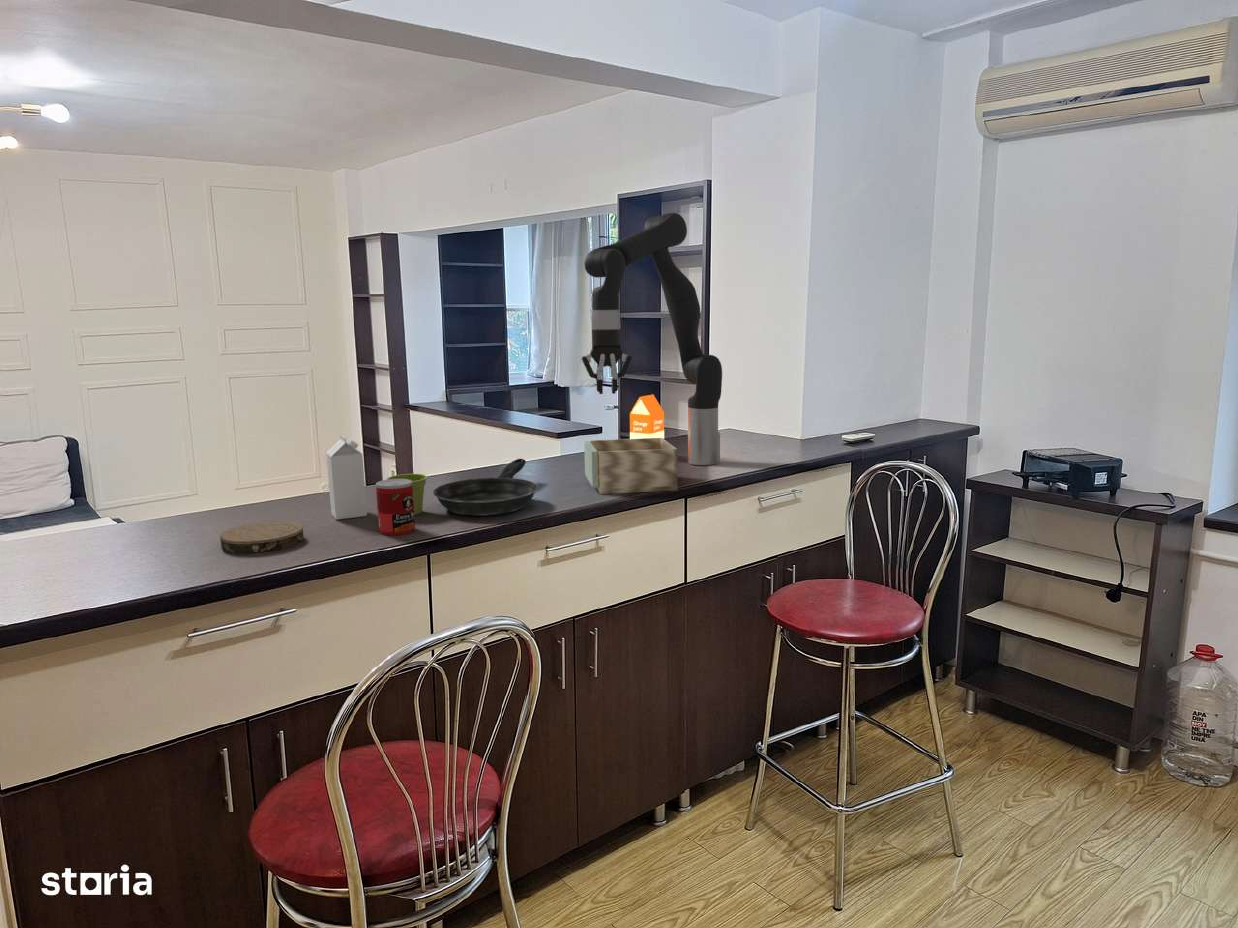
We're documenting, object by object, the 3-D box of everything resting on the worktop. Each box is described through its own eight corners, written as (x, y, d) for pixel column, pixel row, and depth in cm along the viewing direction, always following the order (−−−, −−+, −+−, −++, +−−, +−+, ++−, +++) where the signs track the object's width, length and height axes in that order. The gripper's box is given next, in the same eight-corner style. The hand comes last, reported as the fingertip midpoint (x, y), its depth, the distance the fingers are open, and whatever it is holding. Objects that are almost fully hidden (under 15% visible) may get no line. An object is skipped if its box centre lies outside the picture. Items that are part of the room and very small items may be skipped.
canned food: (397, 537, 174) (393, 487, 172) (371, 532, 178) (367, 483, 176) (423, 529, 180) (420, 480, 178) (397, 524, 185) (394, 477, 183)
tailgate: (590, 474, 229) (589, 441, 228) (598, 487, 213) (597, 451, 211) (585, 474, 229) (584, 441, 227) (592, 487, 212) (591, 451, 211)
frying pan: (519, 522, 185) (518, 493, 184) (416, 519, 190) (414, 490, 189) (569, 482, 227) (569, 458, 226) (484, 480, 232) (483, 457, 231)
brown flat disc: (319, 536, 177) (317, 522, 177) (272, 557, 162) (271, 543, 162) (254, 532, 181) (253, 519, 180) (203, 553, 166) (202, 539, 165)
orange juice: (664, 456, 264) (664, 394, 260) (650, 461, 257) (650, 397, 253) (643, 454, 268) (643, 393, 264) (629, 458, 261) (628, 396, 257)
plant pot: (437, 512, 195) (435, 477, 194) (402, 520, 189) (400, 483, 187) (415, 506, 202) (412, 472, 200) (381, 513, 195) (378, 478, 193)
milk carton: (335, 520, 189) (329, 439, 186) (331, 514, 195) (324, 435, 192) (367, 516, 192) (361, 436, 189) (361, 510, 199) (355, 433, 195)
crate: (662, 475, 234) (661, 437, 232) (677, 490, 215) (677, 449, 213) (591, 478, 231) (590, 440, 229) (600, 494, 212) (599, 452, 210)
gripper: (630, 327, 219) (630, 391, 222) (577, 328, 217) (579, 393, 220) (634, 327, 211) (635, 394, 215) (580, 328, 209) (582, 395, 213)
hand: (607, 393), depth 217 cm, fingers open, 3 cm apart
